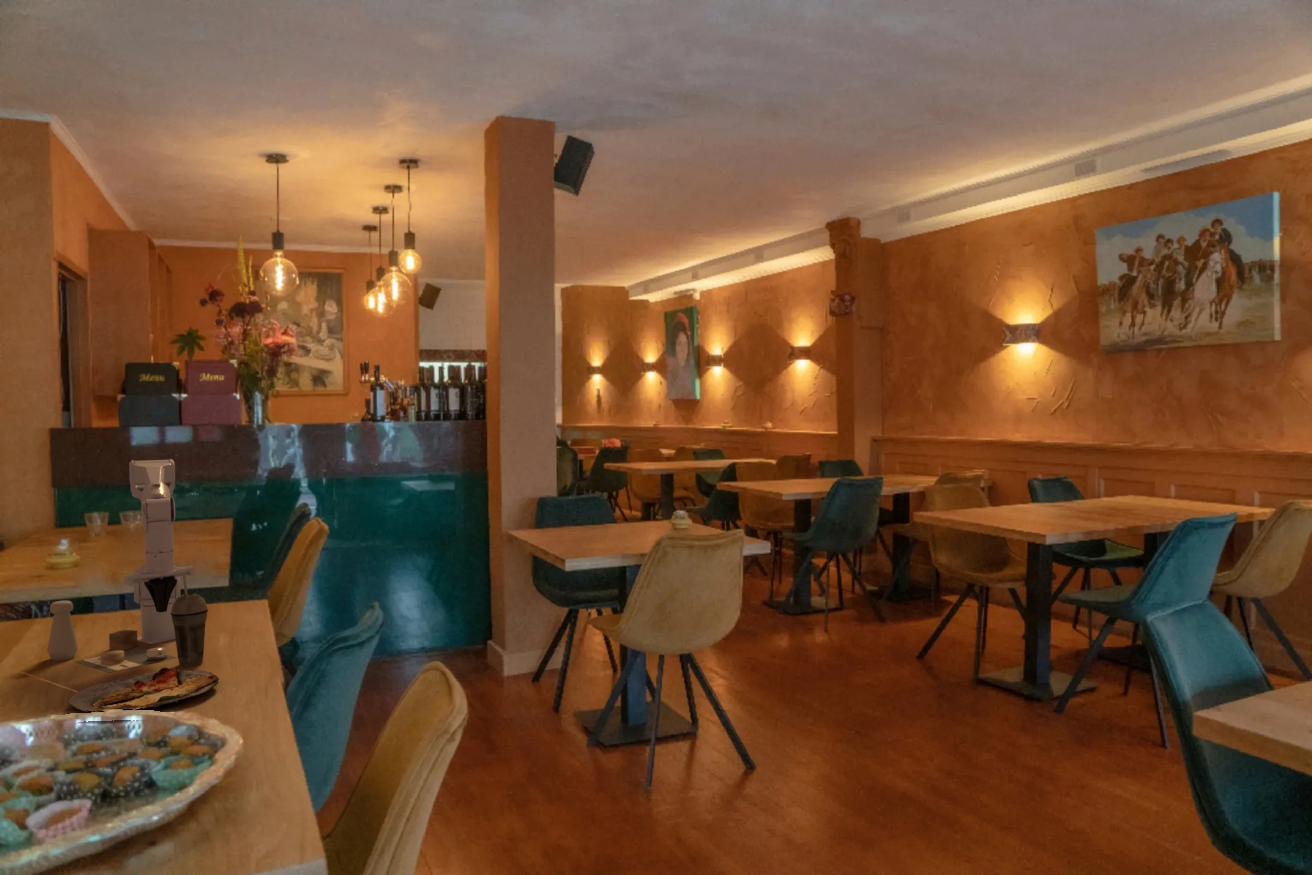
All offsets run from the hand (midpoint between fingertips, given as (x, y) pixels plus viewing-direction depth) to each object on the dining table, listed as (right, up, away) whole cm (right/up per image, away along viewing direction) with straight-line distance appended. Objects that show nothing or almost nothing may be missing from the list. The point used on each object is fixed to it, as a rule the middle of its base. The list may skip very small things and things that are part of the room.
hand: (161, 611), depth 207 cm
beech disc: (-7, -10, -7) cm, 14 cm away
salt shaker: (-21, -11, -2) cm, 24 cm away
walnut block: (-12, -10, +7) cm, 17 cm away
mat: (-5, -10, -4) cm, 12 cm away
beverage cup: (+11, -10, -9) cm, 17 cm away
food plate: (+14, -11, -32) cm, 37 cm away
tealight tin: (+1, -10, -4) cm, 11 cm away
